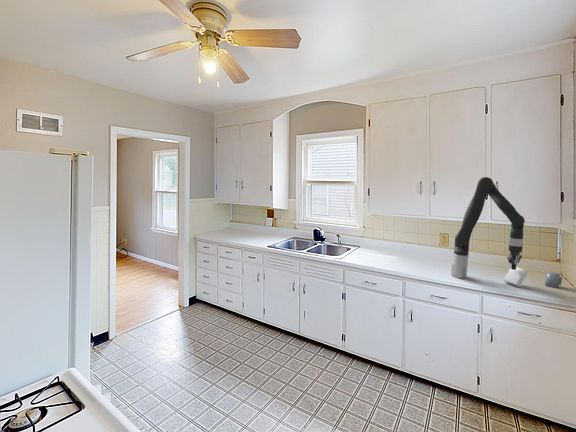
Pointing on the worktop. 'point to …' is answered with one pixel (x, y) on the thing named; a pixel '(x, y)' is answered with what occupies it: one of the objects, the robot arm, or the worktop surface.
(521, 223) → the robot arm
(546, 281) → the grey rounded cylinder
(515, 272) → the photo printer
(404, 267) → the worktop surface
